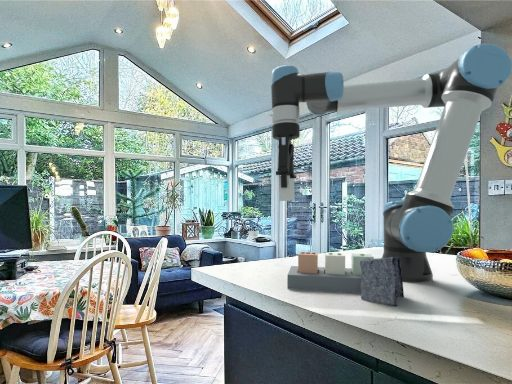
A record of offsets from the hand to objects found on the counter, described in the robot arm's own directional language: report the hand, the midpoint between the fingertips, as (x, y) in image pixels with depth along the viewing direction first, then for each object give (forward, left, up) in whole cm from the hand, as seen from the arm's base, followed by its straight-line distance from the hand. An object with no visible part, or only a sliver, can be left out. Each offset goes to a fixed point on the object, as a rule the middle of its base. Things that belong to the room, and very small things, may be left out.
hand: (287, 200), depth 95 cm
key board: (-13, +1, -23) cm, 27 cm away
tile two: (-13, +1, -19) cm, 23 cm away
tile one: (-20, +1, -19) cm, 27 cm away
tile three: (-6, +1, -19) cm, 20 cm away
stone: (-23, +11, -24) cm, 35 cm away
